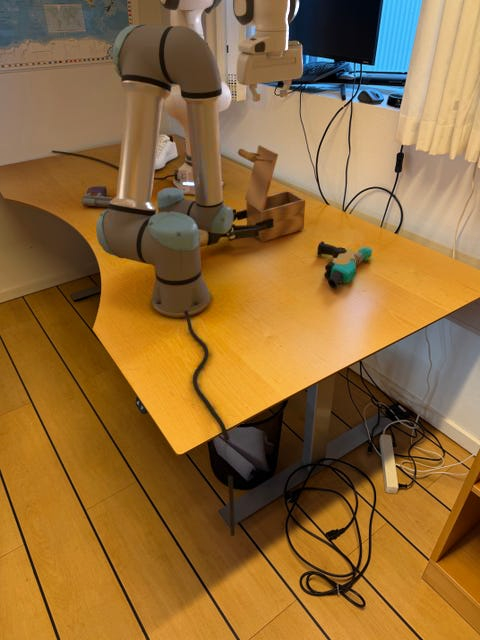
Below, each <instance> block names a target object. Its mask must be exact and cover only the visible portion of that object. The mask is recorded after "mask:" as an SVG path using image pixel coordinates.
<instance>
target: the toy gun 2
mask: <svg viewBox="0 0 480 640" xmlns="http://www.w3.org/2000/svg"><path fill="white" fill-rule="evenodd" d="M318 243H319V244H318V246H317V252H316V254H317V256H320V257H321V256H322V255H327V256H331V257H332V260H331V261H328V262H327V264H326V265H325V266H324V269H325V272H324V275H323V276H324V278H325V279H327V284H328V286H329V287H330V288H331V290H337V288H338V287H339V286H340V285H341V284H342V283H344V284H348V283H349V282H351V281H352V280H353V279H355V276H356V274H357V268H356V266H357V265H359V264H360V263H362V262H364V261H365V262H366V261H367V260H369V259H370V258H371V257H372V255H373V249H372V248H371V247H369V246H368V247H367V246H364V247H363V246H362V247H361V248H359V249H358V251H357V252H356V253H355V250H354V249H352V248H347V247H342V246H340V247H337V246H335V245H331V244H330V243H329V244H328V243H325V241H323V240H321V241H320V242H318Z"/></svg>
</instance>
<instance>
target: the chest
mask: <svg viewBox="0 0 480 640" xmlns="http://www.w3.org/2000/svg"><path fill="white" fill-rule="evenodd" d="M245 205H246V207H245V208H246V209H247V218H246V225H255V223H258V222H261V221H265V220H268V219H274V222H273V227H272V228H269V229H265V230H262V231H259V236H256V237H255V238H257V240H259V241H260V242H261V243H263V242H268V241H270V240H273V239H277V238H280V237H283V236H286V235H290V234H292V233H296V232H299V231H302V230H304V229H305V213H306V212H305V211H306V199H305V198H302V197H301V196H299V195H297V194H296V193H294V192H293V191H290V190H289V189H287V190H284V191H281V192H276V193H273V194H268V195H267V198H266V202H265V206H264V209H263V211H261V210H259V209H258V208H256V207H255V206H254V205H252V204H251V203H249V202H248V201H246V204H245ZM246 209H245V210H246Z"/></svg>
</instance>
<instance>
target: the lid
mask: <svg viewBox="0 0 480 640" xmlns="http://www.w3.org/2000/svg"><path fill="white" fill-rule="evenodd" d="M237 154H238V156H240V157H241V158H242V159H245V160H247V161H248V162H250V163H253V166H252V170H251V174H250V178H249V183H248V186H247V191H246V195H245V197H244V198H245V199H244V200H245V201H246V202H247V201H248V202H249V203H251V204H252V205H254V206H255V207H256V208H258V209H259V210H261V211H263V209H264V206H265V202H266V198H267V196H268V195H269V190H270V187H271V184H272V179H273V176H274V173H275V168H276V164H277V161H278V157H279V154H278V153H276V152H275V151H272V150H270V149H268V148H267V147H264V146H262V145H257V149H256V152H251V151H247V150H246V149H244V148H239V149H238V151H237Z"/></svg>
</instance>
